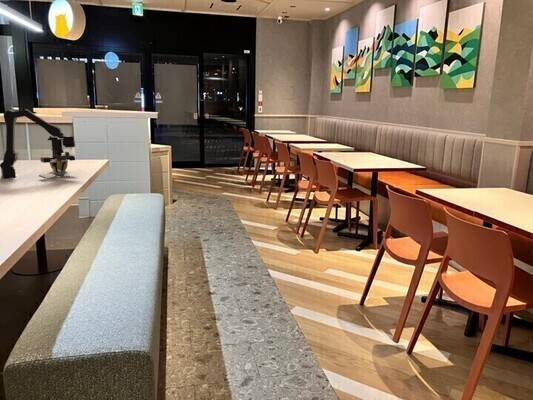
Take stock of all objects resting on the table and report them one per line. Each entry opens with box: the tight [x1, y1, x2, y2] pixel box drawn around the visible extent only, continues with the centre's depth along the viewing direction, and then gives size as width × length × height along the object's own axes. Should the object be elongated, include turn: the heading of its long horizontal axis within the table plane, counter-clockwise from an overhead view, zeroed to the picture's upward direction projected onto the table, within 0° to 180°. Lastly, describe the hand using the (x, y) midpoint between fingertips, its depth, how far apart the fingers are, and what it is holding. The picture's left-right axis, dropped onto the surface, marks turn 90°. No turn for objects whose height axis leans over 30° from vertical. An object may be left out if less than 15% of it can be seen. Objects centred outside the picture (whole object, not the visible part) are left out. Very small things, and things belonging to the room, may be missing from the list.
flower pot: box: [49, 156, 69, 172], centre depth 285 cm, size 9×9×9 cm
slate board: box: [38, 172, 71, 180], centre depth 268 cm, size 13×15×1 cm
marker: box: [52, 169, 65, 176], centre depth 271 cm, size 2×12×2 cm, turn 45°
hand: (59, 172), depth 270 cm, fingers closed on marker, 2 cm apart
